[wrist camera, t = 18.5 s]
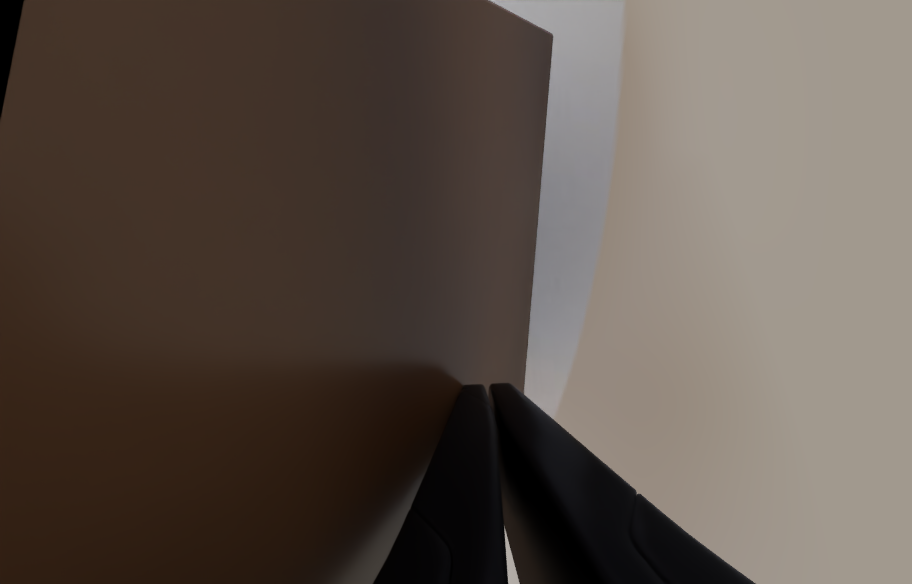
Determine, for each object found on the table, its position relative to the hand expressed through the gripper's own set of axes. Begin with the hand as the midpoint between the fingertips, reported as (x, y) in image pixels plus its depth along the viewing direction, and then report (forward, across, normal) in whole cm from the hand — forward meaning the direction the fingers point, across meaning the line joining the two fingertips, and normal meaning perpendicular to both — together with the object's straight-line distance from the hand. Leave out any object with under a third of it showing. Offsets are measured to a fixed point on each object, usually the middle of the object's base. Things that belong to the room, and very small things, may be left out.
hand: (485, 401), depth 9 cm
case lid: (-2, +2, 0) cm, 3 cm away
